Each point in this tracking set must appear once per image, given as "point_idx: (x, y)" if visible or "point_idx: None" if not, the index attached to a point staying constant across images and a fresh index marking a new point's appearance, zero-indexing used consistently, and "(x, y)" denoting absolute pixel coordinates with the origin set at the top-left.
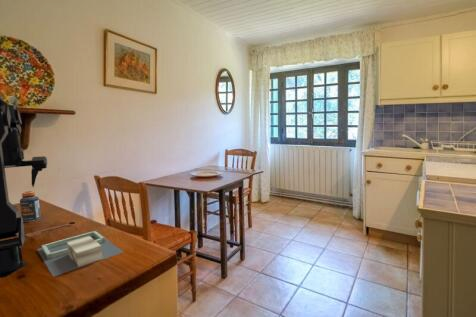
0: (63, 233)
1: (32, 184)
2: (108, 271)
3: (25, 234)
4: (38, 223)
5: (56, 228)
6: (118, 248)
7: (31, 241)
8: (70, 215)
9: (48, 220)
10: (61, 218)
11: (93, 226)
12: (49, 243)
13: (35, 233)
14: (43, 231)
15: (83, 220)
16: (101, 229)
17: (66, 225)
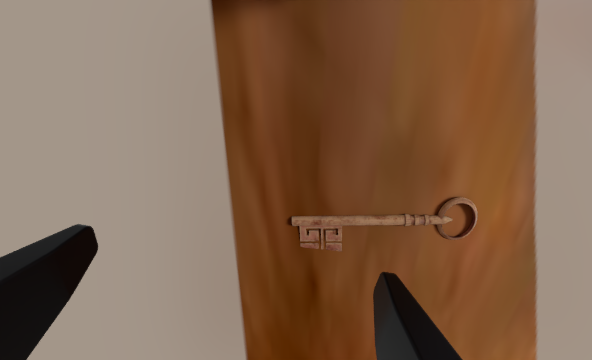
0: None
1: (380, 331)
2: None
3: (294, 224)
4: (350, 65)
5: (397, 224)
6: None
7: (308, 302)
8: (512, 28)
9: (397, 43)
10: (457, 58)
11: (506, 306)
12: None
13: (325, 227)
14: (351, 224)
15: (516, 193)
16: (508, 356)
17: (436, 223)
